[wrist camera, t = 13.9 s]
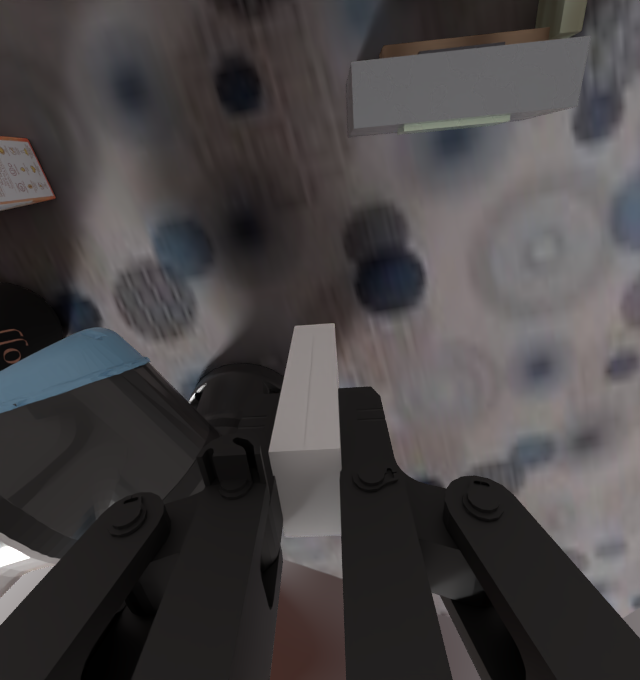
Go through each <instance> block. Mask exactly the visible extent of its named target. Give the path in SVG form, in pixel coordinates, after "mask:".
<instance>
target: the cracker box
mask: <svg viewBox="0 0 640 680" xmlns="http://www.w3.org/2000/svg"><path fill="white" fill-rule="evenodd" d="M55 198H56V197H55V195H54V193H53V191H52V189H51V186H50V184H49V182H48V180H47V178H46V176H45V174H44V172H43V169H42V167H41V165H40V163H39V161H38V159H37V157H36V155H35V153H34V150H33V148H32V146H31V144H30V142H29V140H28V139H27V138H16V137H4V136H0V211H3V210H7V209H12V208H16V207H21V206H25V205H30V204H34V203H39V202H43V201H47V200H52V199H55Z"/></svg>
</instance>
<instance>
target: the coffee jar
mask: <svg viewBox="0 0 640 680" xmlns="http://www.w3.org/2000/svg"><path fill="white" fill-rule="evenodd" d="M60 340H62V327H61V324H60V320H59V318H58V316H57V315H56V313H55V311H54V310H53V308H52V307H51V306H50V305H49V304H48V303H47V302H46V301H45V300H44V299H43V298H41V297H40V296H38V295H37V294H35V293H33V292H32V291H30V290H27V289H25V288H22V287H19V286H15V285H12V284H7V283H0V371H2V370H4V369H5V368H7V367H9V366H11V365H13V364H15V363H17V362H18V361H20V360H22V359H24V358H26V357H28V356H30V355H32V354H34V353H36V352H38V351H40V350H42V349H44V348H46V347H48V346H50V345H52V344H54V343H56V342H58V341H60Z"/></svg>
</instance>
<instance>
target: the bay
mask: <svg viewBox="0 0 640 680" xmlns="http://www.w3.org/2000/svg"><path fill="white" fill-rule="evenodd" d="M586 4H587V0H539V3H538V10H537V17H536V24H535V29H527V30H518V31H509V32H500V33H491V34H482V35H473V36H464V37H455V38H446V39H437V40H428V41H419V42H411V43H402V44H393V45H384V46H383V48H382V50H381V52H380V54H379V59H382V58H391V57H400V56H409V55H417V54H418V53H419V51H426V50H435V49H444V48H453V47H462V46H472V45H481V44H490V43H499V42H505V45H509V44H518V43H528V42H537V41H546V40H555V39H564V38H569V37H571V36H573V35H575V34H577V33H579V32H580V31H582V26H583V20H584V15H585V10H586Z"/></svg>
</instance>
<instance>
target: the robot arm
mask: <svg viewBox="0 0 640 680" xmlns="http://www.w3.org/2000/svg"><path fill="white" fill-rule="evenodd" d="M149 362H150V359H149V358H148V357H143V356H142V355H141V354H140V353H138V352H137V351H136V350H135V349H134V348H133V347H132V346H131V345H129V344H128V343H127V342H126V341H125V340H124V339H123V338H122V337H121V336H119V335H118V334H117V333H115V332H114V331H112V330H110V329H106V328H99V327H96V328H89V329H85V330H82V331H80V332H77V333H75V334H73V335H70V336H68V337H66V338H64V339H62V340H60V341H58V342H56V343H54V344H52V345H50V346H48V347H46V348H44V349H42V350H40V351H38V352H36V353H34V354H32V355H30V356H28V357H26V358H24V359H22V360H20V361H18V362H17V363H15V364H13V365H11V366H9V367H7V368H5V369H4V370H2V371H0V598H1V597H2V596H3V595H4V594H5V593H6V592H7V591H8V590H9V589H10V588H11V587H12V586H13V585H14V584H15V582H17V581H18V580H19V579H20V577H21V576H22V575H24V574H26V573H28V572H30V571H33V570H37V569H41V568H46V567H51V566H54V567H53V568H52V569H51V570H50V572H48V574H47V575H46V576H45V577H44V578H43V579H42V580H41V581H40V582H39V584H38V585H37V586H36V587H35V588H34V589H33V590H32V591H31V592H30V593H29V595H28V596H27V597H26V598H25V599H24V600H23V601H22V602H21V603H20V604H19V606H18V607H17V608H16V609H15V610H14V611H13V612H12V613H11V614H10V615H9V617H8V618H7V619H6V620H5V621H4V622H3V623H2V624H1V625H0V680H270V672H271V663H272V654H273V645H274V636H275V627H276V618H277V609H278V600H279V591H280V582H281V573H282V563H283V558H282V550H281V545H280V543H281V535H282V527H283V530H284V535H285V537H310V536H337V535H341V541H342V570H343V599H344V628H345V656H346V680H453V679H452V676H451V671H450V667H449V663H448V659H447V655H446V651H445V646H444V642H443V638H442V634H441V630H440V626H439V622H438V617H437V613H436V609H435V605H434V601H433V597H432V593H435V594H438V595H440V597H441V599H442V601H443V603H444V605H445V607H446V609H447V611H448V613H449V615H450V617H451V619H452V621H453V623H454V625H455V627H456V629H457V631H458V633H459V635H460V637H461V639H462V641H463V643H464V645H465V647H466V649H467V652H468V654H469V656H470V658H471V660H472V662H473V664H474V666H475V668H476V670H477V672H478V674H479V676H480V678H481V680H640V638H639V637H638V636H637V635H636V634H635V632H634V631H633V630H632V629H631V628H630V627H629V626H628V624H626V622H625V621H624V620H623V619H622V618H621V616H620V615H619V614H618V613H617V612H616V611H615V610H614V608H613V607H612V606H611V605H610V604H609V603H608V602H607V601H606V599H605V598H604V597H603V596H602V595H601V594H600V593H599V591H598V590H597V589H596V588H595V587H594V586H593V585H592V583H591V582H590V581H589V580H588V579H587V578H586V577H585V575H584V574H583V573H582V572H581V571H580V570H579V569H578V568H577V566H576V565H575V564H574V563H573V562H572V561H571V560H570V558H569V557H568V556H567V555H566V554H565V553H564V552H563V550H562V549H561V548H560V547H559V546H558V545H557V544H556V543H555V541H554V540H553V539H552V538H551V537H550V536H549V535H548V533H547V532H546V531H545V530H544V529H543V528H542V527H541V525H540V524H539V523H538V522H537V521H536V520H535V519H534V517H533V516H532V515H531V514H530V513H529V512H528V511H527V510H526V508H525V507H524V506H523V505H522V504H521V503H520V502H519V500H518V499H517V498H516V497H515V496H514V495H513V494H512V493H511V492H510V491H508V490H507V489H506V488H505V487H504V486H503V485H501V484H499V483H497V482H495V481H493V480H491V479H488V478H483V477H479V476H464V477H460V478H458V479H456V480H454V481H452V482H451V483H450V485H449V486H448V487H447V489H445V488H441V487H437V486H432V485H428V484H425V483H421V482H418V481H416V480H414V479H412V478H411V477H409V476H408V475H406V474H405V473H404V472H403V471H402V470H401V469H400V468H399V466H398V465H397V463H396V461H395V458H394V454H393V450H392V445H391V441H390V437H389V432H388V428H387V424H386V420H385V415H384V411H383V406H382V402H381V398H380V395H379V394H378V393H377V392H376V391H375V390H374V389H373V388H372V387H354V388H339V379H338V365H337V351H336V337H335V323H329V324H315V325H300V326H295V327H294V332H293V337H292V342H291V346H290V351H289V356H288V361H287V365H286V370H285V375H284V377H283V376H281V375H280V374H278V373H277V372H275V371H273V370H270V369H268V368H265V367H262V366H259V365H254V364H244V363H240V364H230V365H226V366H222V367H220V368H217V369H215V370H213V371H211V372H210V373H208V374H207V375H206V376H204V377H203V378H202V379H201V381H200V382H199V383H198V385H197V386H196V388H195V389H194V391H193V393H192V395H191V396H190V399H189V401H187V400H186V399H185V398H184V397H183V396H182V395H181V394H180V393H179V392H178V391H177V390H176V389H175V388H174V387H173V386H172V385H171V384H170V383H169V382H168V381H167V380H166V379H165V378H164V377H163V376H162V375H161V374H160V373H159V372H158V371H157V370H156V369H155V368H154V367H153V366H152V365H151V364H150V363H149ZM431 592H432V593H431Z"/></svg>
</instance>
